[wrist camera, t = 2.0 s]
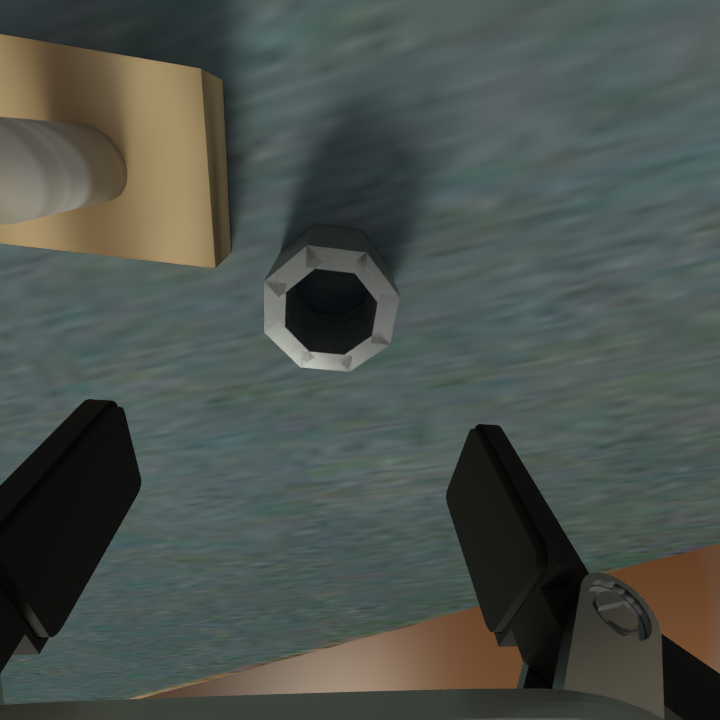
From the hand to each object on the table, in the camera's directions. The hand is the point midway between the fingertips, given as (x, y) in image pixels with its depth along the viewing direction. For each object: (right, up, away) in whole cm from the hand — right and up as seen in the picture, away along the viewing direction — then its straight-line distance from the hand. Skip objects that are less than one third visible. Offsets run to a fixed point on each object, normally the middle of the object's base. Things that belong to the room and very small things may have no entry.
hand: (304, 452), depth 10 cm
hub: (0, +7, +12) cm, 14 cm away
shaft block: (-10, +13, +8) cm, 18 cm away
